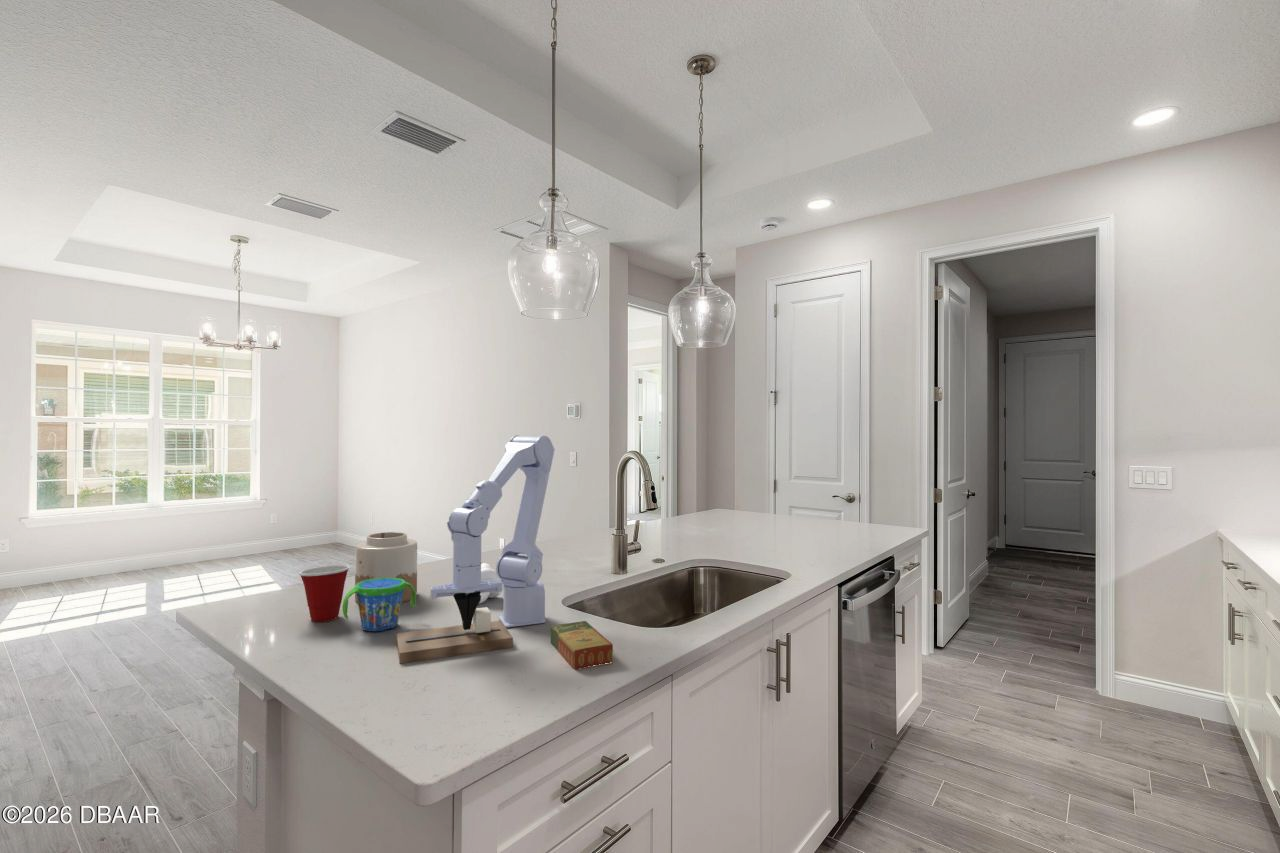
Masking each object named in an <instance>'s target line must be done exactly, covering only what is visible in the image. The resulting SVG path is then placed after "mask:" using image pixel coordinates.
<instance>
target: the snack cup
mask: <svg viewBox="0 0 1280 853" xmlns="http://www.w3.org/2000/svg"><path fill="white" fill-rule="evenodd" d="M407 585H408V586H409V587H410V588H411V590H412V596H411V600H410V604H409V605H410V607H411V608H414V607H416V604H417V603H416V602H417V594H416V593H415V590H414V588H413V586H412V585H411V584H409V583H407V582H405V581H404V580H403V579H399V578H375V579H369V580H364V581H361V582H359V583H357V584H356V586H355V585H354V587H353V588H351V589H350V590H349V591H348V592H347V593H346V594H345V597H344V598H343V602H342V614H343V616H344V619H346V620H348V619H349V616H348V609H349V608H348V607H349V599H350V598H351V597H352V596H353V595H355V593H357V597H358V610H359V616H360V623H361V628H362V630H365V631H367V632H382V631H386V630H390V629H395V626H397V625H398V622H399V618H400V612H401V606H402V605H401V604H402V602H401V601H402V595H403V592H404V589H405V586H407Z"/></svg>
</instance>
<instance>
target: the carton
mask: <svg viewBox="0 0 1280 853" xmlns="http://www.w3.org/2000/svg"><path fill="white" fill-rule="evenodd" d="M550 644H551V645H552V646H553V648H554V649H555V650H556V651H557V652H558V653H559V654H560V656H561V657H562V658H563V659H564V660H565V661H566V663H567V664H568V665H569V666H570V668H572V670H573V669H576V670H580V669H579V668H582V669H585V668H584V667H588V666H593V665H599V664H605V663H610V662H612V663H613V659H614V658H613V653H614V651H613V650H614V649H613V643H612V642H611V641H609V640H608V639H607V638H606V637H605V636H604V635H602V634H601V633H600V632H599V631H598V630H597V629H596V628H594V627H593V626H592V625H591V624H590V623H589V622H588V621H587V620H581V621H576V622H570V623H569V622H567V623H561V624H555V625H550ZM588 668H589V667H588Z"/></svg>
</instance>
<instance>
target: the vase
mask: <svg viewBox="0 0 1280 853" xmlns="http://www.w3.org/2000/svg"><path fill="white" fill-rule="evenodd" d="M354 550H355V555H354V557H355V558H354V561H355V562H354V569H355V570H354V587H355V586H356V584H357V583H359V582H361V581H364V580H369V579H375V578H399V579H403V580H404V581H405V582H407V583H409V584H411V585H412V586H413V588H414V590H415V593H416V595H417V594H418V542H417V541H416V540H414V539H412V538H408V535H407V533H405V532H400V531H386V532H385V531H383V532H375V533H371V534H368V535H367V536H366V541H362V542H359V543H357V544H356V546H355V549H354ZM411 596H412V590H411V588H410V587H409V586H408V585H407V586H405V589H404V592H403V595H402V601H401V603H404V602H409V601H411ZM354 599H355V602H356V603H358V597H357V593H354ZM358 604H359V603H358Z"/></svg>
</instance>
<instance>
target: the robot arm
mask: <svg viewBox="0 0 1280 853" xmlns="http://www.w3.org/2000/svg"><path fill="white" fill-rule="evenodd" d="M552 442H553V441H551V438H549V436H547V435H540V436H538V435H537V436H536V435H518V434H515V435H513V436H511V438H509V440H508V442H507V443H506V444H505V445H504V446H505V447H504V452H505V453H504V455H503V456H502V458H501V460H500V461H499V463H498V464H497V465H496V468H495V469H494V471H493V473H492V474H491V475H490V477H489V478H488V480H486V479H485V480H482V481H480V482H478V483H477V484H476V485H475V489H474V490H473V491H472V493H471V494H470V495H469V496H468V497H467V499H466V500H465V501H464V503H463V504H462V506H459V507H457V508H455V509H454V510H453V511H452V512H451V513H450V514H449V517H448V520H447V521H446V526H447V529H448V531H449V532H450V536H451V540H452V541H451V542H453V543H452V544H453V548H452V550H453V553H452V554H453V557H452V558H453V559H452V560H453V561H452V569H453V570H452V583H449V584H448V583H447V584H443V585H439V586H437V585H436V586H431V587H430V599H432V600H433V599H437V598H444V597H453V599H454V600H455V603H456V605H457V608H458V611H459V614H460V617H461V623H462V625H463V629H464V630H468V629H471V624H473V616H474V613H475V610H476V608H478V606H479V605H480V604H479V602H480V600H481V595H480V593H484V592H493V591H497V592H501V593H502V592H503V604H502V605H503V608H502V609H503V614H501V615H499V616H498V618H499V621H502V622H503V624H504V625H505V627H506V628H507V629H508V628H513V627H521V626H530V625H537V624H545V623H546V621H547V620H546V591H545V586H544V582H542V581H539V580H540V578H541V577H542V574H543V556H544V554H543V552H542V550H541V549H540V548H539V547H538V546H537V545H536V542H537V537H538V532H539V525H540V522H541V518H542V517H541V516H542V514H543V513H542V511H543V508H544V504H545V498H546V492H547V487H548V482H549V477H550V472H551V469H552V464H553V459H554V455H555V451H556V450H555V447H554V445H553V443H552ZM518 469H519V470H520V471H522V472H523V474H524V475H525V481H524V486H523V491H522V496H521V500H520V505H519V509H518V510H519V511H518V513H517V518H516V524H515V529H514V533H513V538H512V540H510V542H508V543H507V544H506V545H504V546H503V548H502V552H501V555H500V556H499V558H498V560H497V561H496V562H497V563H496V566H495V567H496V568H495V571H496V572H497V575H498V577H499V578H500V579H501V581H481V564H482V535H483V534H484V532H485V531H486V530H487V529H488V525H489V519H490V518H491V513H492V511H493V510H494V509H495V507H496V506H497V504H498V503H499V501H500V500H501V499H502V498H503V490H502V489H503V487H504V486H505V485H506V483H507V482H508V481H509V480H510V479H511V478H512V477H513V475H514V474H516V472H517V471H518ZM519 554H520V555H519ZM522 554H523V555H522ZM502 583H503V584H504V587H503V590H502Z"/></svg>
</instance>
